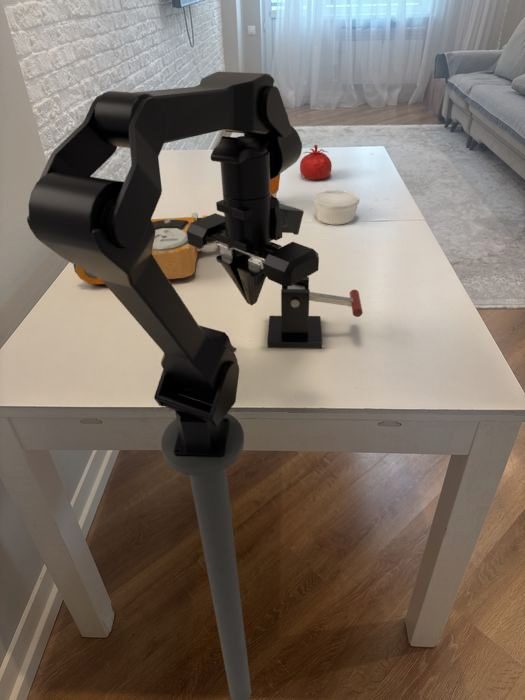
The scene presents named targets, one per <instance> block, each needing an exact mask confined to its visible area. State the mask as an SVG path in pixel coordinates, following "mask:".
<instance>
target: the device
mask: <svg viewBox="0 0 525 700" xmlns="http://www.w3.org/2000/svg"><path fill="white" fill-rule="evenodd" d="M207 216H208V215H206V214H205V215H202V217H198V212H192V213H191V216H185V217H184V216H183V217H167V218H165V217H164V218H151V221H152V223H153V226H154V228H155V231H156V233H155V238H154V243H153V248H152V255H153V257H154V258H155V260H156V261H157V263H158V264H159V266H160V267H161V269H162V271H163V272H164V274H165V275H166V277H167V278H168V280H176V279H184V278H187V277H190V276H192V275H193V274H194V273H195V271H196V263H197V260H198V253H199V252H200V251H201V249H199V248H197V247H194V246H192V245H190V244H188V238H187V230H188V228H189V226H190V224H191V223H192V222H194V221H197V220H199V219H202V218H204V217H207ZM206 240H207V244H209V243H214V242H216V241H217V240H214V239H212V238H210V237H206ZM217 242H218V241H217ZM73 269H74V272H75V274H76V275H77V276H78V278H79V279H80V280H82V281H84V282H86V283H87V284H91V285H95V286H98V285H99V286H100V285H106V284H105V283H104V282H103V281H102V280H101V279H100V278H98V277H97V276H95V275H93V274H91V273H89V272H87V271H85V270H84V269H82V268H80V267H78V266H76V265H74V264H73Z"/></svg>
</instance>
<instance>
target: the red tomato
mask: <svg viewBox="0 0 525 700" xmlns="http://www.w3.org/2000/svg"><path fill="white" fill-rule="evenodd" d="M313 148H314V149H313ZM313 148H309V150H310V151H304V154H306V153H308V154H306V155H305V156H303V157H302V158H301V160H300V163H299V172H300V174H301V176H302V177H304V178H305V179H308V180H312V181H319V180H324V179H326V178H328V177H329V176H330V175H331V173H332V167H333V166H332V165H333V164H332V160H331V159H330V158H329V156H328V155H327V154H325V153H328V151H327V150H325V149H322V148H321V149H319V150H318V144H314V146H313Z"/></svg>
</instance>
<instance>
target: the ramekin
mask: <svg viewBox="0 0 525 700" xmlns="http://www.w3.org/2000/svg"><path fill="white" fill-rule="evenodd" d="M359 203H360V197H359V196H358V195H357V194H355V193H354V192H350V191H344V190H325V191H320V192H318V193H317V194H315V195H314V196H313V204H314V212H315V217H316V219H317V220H318V221H319V222H321V223H323V224H327V225H332V226H333V225H335V226H338V225H346V224H349V223H350V222H352V221H353V219H354V218H355V216H356V213H357V209H358V205H359Z"/></svg>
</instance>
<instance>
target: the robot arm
mask: <svg viewBox="0 0 525 700" xmlns="http://www.w3.org/2000/svg"><path fill="white" fill-rule="evenodd" d="M274 83H275V79H274V77H273V76H272V75H271V74H270V73H261V72H238V71H237V72H236V71H215V72H213V73H211V74H209V75H207V76H204V77H202V78H201V80H200V81H199V84H198V85H196V86H188V87H178V88H177V87H175V88H166V89H156V90H155V89H154V90H145V91H143V90H142V91H134V92H131V91H116V90H115V91H114V90H108V91H105V92H102V94H99V95H98V96H96V97H95V98H94V99H93V101H92V103H91V104H90V107H89V109H88V111H87V114H86V116H85V118H84V120H83V121H82V123H81V124H80V125H78V127H76V128H75V129H74V130H73V131H72V132H71V133H70V134H69V135H68V136H67V137H66V138H65V139H64V140H63V141H62V142H61V143H60V144H59V145H58V146H57V147H56V148H55V149H53V151H52V152H51V154H50V156H49V158H48V160H47V162H46V164H45V167H44V168H43V170H42V173H41V175H40V177H39V179H38V181H36V183H35V185H34V186H33V189H32V190H31V192H30V195H29V200H28V215H27V218H26V222H27V225H28V227H29V230H30V231H31V232H32V234H33V235H34V237H35V238H36V239H37V240H38V241H39V242H40V243H42V244H43V245H44V246H46V247H47V248H49V249H50V250H51V251H52V252H54V253H56V255H58V256H60V257H61V258H62V259H64V260H65V261H67V262H68V263H70V264H74V265H76V266H78V267H80V268H82V269H84V270H85V271H87V272H89V273H91V274H93V275H95V276H97V277H98V278H100V279H101V280H102V281H103V282H104V283H105V284H104V285H105V286H106V287H107V289H109V291H110V292H111V293H112V294H113V295H114V297H116V299H117V300H118V301H119V303H121V305H122V306H123V307H124V308H125V309H126V310H127V311H128V313H129V314H130V315H131V316H132V317H133V319H135V321H136V322H137V323H138V325H140V327H141V328H142V329H143V330H144V331H145V332H146V334H147V335H148V336H149V337H150V339H151V340H153V342H154V343H155V344H156V345H157V347H158V348H159V349H160V350H161V351H162V352H163V355H162V358H161V362H160V365H161V367H162V371H161V374H160V378H159V380H158V384H157V387H156V390H155V393H154V397H153V398H154V399H153V400H154V401H155V402H156V403H157V404H158V405H159V406H160V407H165V408H168V409H170V410H173V411H174V412H175V416H176V417H175V419H176V418H177V423H178V428H179V432H178V436H177V440H176V444H175V448H174V455H175V456H195V457H223V456H224V455H225V449H226V442H227V436H228V429H229V419H228V418H224V417H225V415H226V414H227V413H228V414H229V412H230V410H231V409H232V408H233V406H234V405H235V404H236V400H237V393H238V385H239V377H240V365H239V362H238V357H237V355H236V353H235V352H237V347H235V346H233V344H232V342H231V339H230V337H229V336H228V334H227V333H226V332H225V331H221V330H217V329H214V328H212V327H211V328H210V327H207V326H202V325H200V324H198V322H197V321H196V319H195V317H194V316H193V314H192V313H191V312H190V310H189V309H188V307H187V305H186V304H185V302H184V301H183V299H182V297H181V296H180V295H179V293H178V292H177V289H175V287H174V286H173V284H172V283H171V281H170V279H168V278H167V277H166V275H165V274H164V272H163V271H162V269H161V267H160V266H159V264H158V263H157V261H156V260H155V258H154V257H153V255H152V248H153V243H154V238H155V233H156V231H155V228H154V226H153V223H152V221H151V219H153V216H154V213H155V210H156V209H157V205H158V204H159V201H160V199H161V196H162V193H163V187H162V178H161V171H160V169H161V168H160V161H159V156H160V154H161V152H162V149H163V147H164V145H165V144H167V143H171V142H176V141H180V140H184V139H188V138H189V139H190V138H193V137H197V136H198V137H199V136H201V135H207V134H211V133H215V132H219V131H224V132H226V133H235V134H243V135H240V136H236V137H235V136H227V135H226V136H224V135H223V136H221V137H220V140H219V142H218V144H217V145H216V146H215V147H214V148H213V150H212V152H211V154H210V160H211V162H216V163H220V174H221V186H222V188H221V189H222V199H221V200H219V201H216V202H215V204H216V211H217V212H221V213H223V214H224V215H222V214H219V213H215V212H214V213H212V214H210V215H206V216H207V217H204V218H202V217H201V218H202V219H199V220H197V221H194V222H192V223H191V224H190V226H189V228H188V230H187V238H188V244H190V245H192V246H194V247H197V248H199V249H200V250H202V249H204V248H205V247H206V246H207V244H208V243H207V240H206V237H210V238H212V239H214V240H217V243H216V244H217V247H219V254H218V255H217V256H216V257H215V259H216V262H217V263H219V264H220V265H221V266H222V268H223V269H224V270H225V272H226V273H227V274H228V276H229V277H230V279H231V280H232V282H233V283H234V284H235V286H236V288H237V289H238V291H239V293H240V294H241V296H242V297H243V299H244V300H245V302H246V304H247V305H250V306H253V305H255V304H256V303H258V300H259V297H260V294H261V292H262V289H263V286H264V285H265V284H264V283H265V282H266V278H267V280H269V281H271V282H274V283H276V284H278V285H280V286H282V285H283V286H292V285H294V284H295V283H297V282H299V281H301V280H302V279H304V278H306V277H310V276H312V275H313V274H315V273H316V272H318V271H319V265H320V257H319V252H317V251H316V250H315V249H313V248H311V247H309V246H306V245H303V244H300V243H298V242H295V241H291V242H288V243H286V244H285V245H283V246H282V245H281V244H279V243H276V242H273V240H274V241H278V240H281V239H282V238H283V233H284V234H285V233H286V234H293V235H295V236H297V235H298V236H299V235H300V234H299V233H300V229H301V225H302V222H303V221H302V220H303V216H304V213H305V211H304V210H302V209H300V208H296V207H293V206H290V205H287V204H284V203H280V201H279V199H278V197H276V198H275V197H273V195H271V194H270V179H272V178H275V177H276V176H278V175H279V174H280V175H281V174H282V173H283V172H285V171H286V170H288V169H289V168H290V167H292V166H293V165H295V164H296V163H297V162H298V160H299V159H300V157H301V155H302V150H303V143H302V140H301V136H300V135H299V133H298V131H297V130H296V129H295V127H294V126H293V125H291V122H290V119H289V115H288V113H287V109H286V107H285V104H284V102H283V98H282V95H281V92H280V90H279V88H278V87H277V86H274ZM118 147H120V148H127V149H129V150H130V151H129V153H130V163H131V164H130V165H131V166H130V168H129V170H128V172H127V174H126V177H125V179H124V181H121V180H115V179H108V178H102V177H95V176H93V175H94V174H95V173H96V172H97V171H98V170H99V169H100V168H101V167H102V166H103V165H104V164H105V163H106V162H107V161H108V160H109V159H110V158H111V157H113V155H114V154H115V152H116V150H117V149H118ZM74 265H73V266H74ZM225 421H227V422H225ZM178 451H179V452H178ZM220 453H221V454H220Z"/></svg>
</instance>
